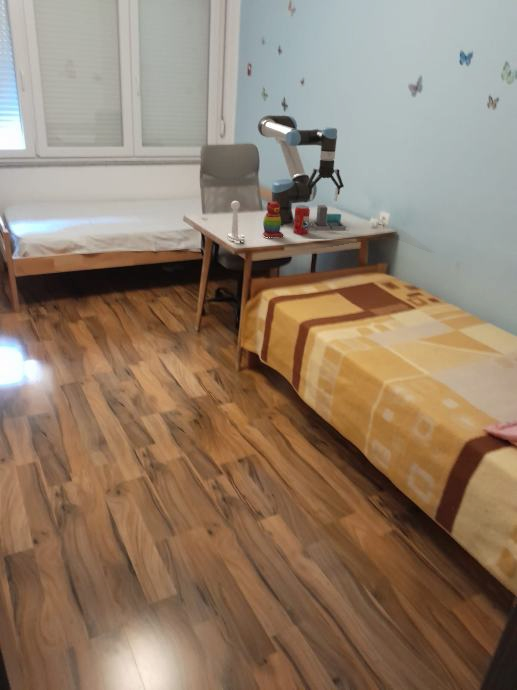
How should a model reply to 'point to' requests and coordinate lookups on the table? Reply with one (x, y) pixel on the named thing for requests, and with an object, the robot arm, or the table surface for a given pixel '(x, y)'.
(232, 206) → the joystick
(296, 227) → the soda can
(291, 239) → the table surface
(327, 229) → the gray square tray
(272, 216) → the stacking bear
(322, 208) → the grey upright block
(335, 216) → the port
